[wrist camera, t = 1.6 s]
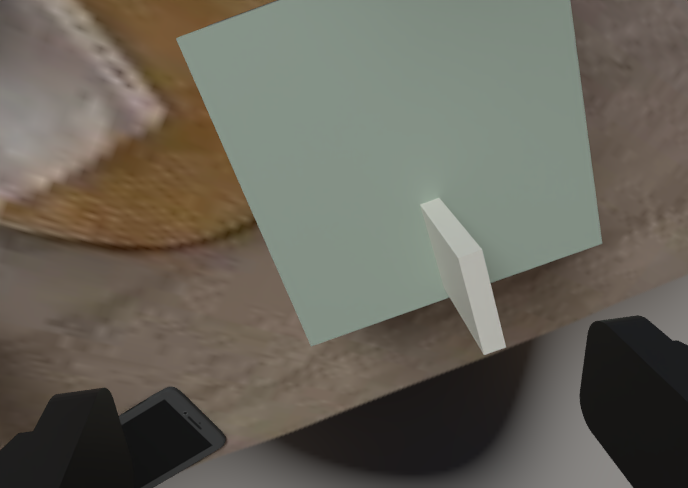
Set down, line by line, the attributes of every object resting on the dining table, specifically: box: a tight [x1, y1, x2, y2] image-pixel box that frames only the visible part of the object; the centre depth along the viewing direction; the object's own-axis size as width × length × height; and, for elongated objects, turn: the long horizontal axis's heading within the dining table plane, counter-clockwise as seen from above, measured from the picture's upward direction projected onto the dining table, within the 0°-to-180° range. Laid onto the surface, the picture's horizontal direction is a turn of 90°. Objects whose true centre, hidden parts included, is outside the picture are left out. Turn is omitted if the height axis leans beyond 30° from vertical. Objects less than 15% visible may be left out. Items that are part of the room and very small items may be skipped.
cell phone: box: [119, 387, 226, 488], centre depth 46 cm, size 7×14×1 cm, turn 122°
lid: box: [176, 0, 602, 355], centre depth 24 cm, size 16×16×7 cm
